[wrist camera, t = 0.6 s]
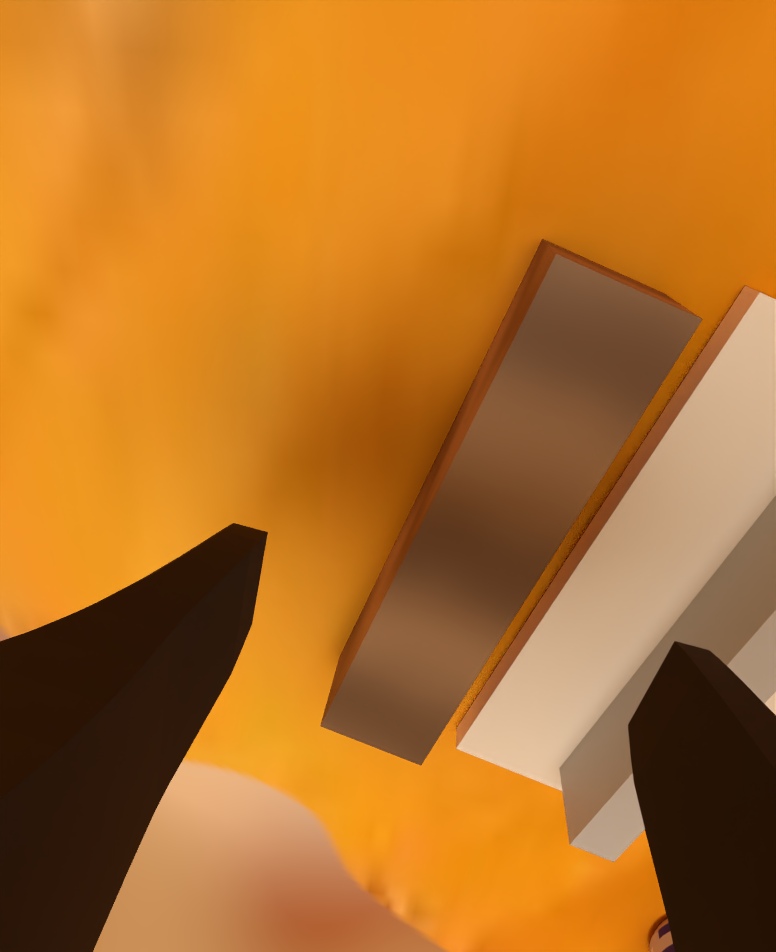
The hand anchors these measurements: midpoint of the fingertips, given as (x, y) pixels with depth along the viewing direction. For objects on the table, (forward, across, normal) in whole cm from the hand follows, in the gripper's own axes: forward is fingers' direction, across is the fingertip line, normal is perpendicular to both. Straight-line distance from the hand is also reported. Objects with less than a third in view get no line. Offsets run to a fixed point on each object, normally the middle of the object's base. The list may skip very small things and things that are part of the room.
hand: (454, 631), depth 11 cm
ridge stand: (+10, -9, +4) cm, 14 cm away
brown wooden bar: (+10, -1, +2) cm, 10 cm away
